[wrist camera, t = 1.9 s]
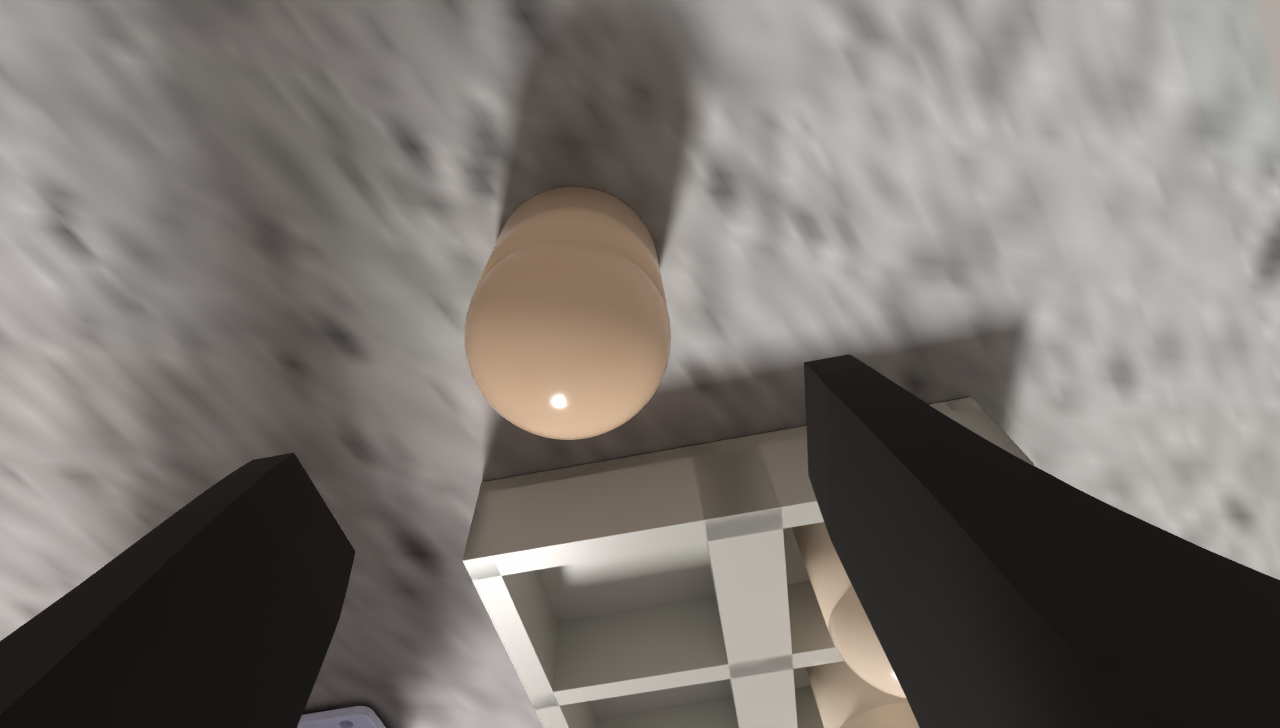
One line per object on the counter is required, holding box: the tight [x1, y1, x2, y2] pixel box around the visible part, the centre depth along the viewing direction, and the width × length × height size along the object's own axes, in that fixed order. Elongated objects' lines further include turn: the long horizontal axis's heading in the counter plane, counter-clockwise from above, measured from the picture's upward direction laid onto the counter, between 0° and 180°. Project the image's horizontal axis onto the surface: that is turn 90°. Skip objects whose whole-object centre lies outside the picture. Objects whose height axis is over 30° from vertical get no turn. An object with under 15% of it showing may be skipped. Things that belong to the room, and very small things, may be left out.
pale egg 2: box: [806, 661, 919, 728], centre depth 20 cm, size 4×4×6 cm
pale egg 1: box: [792, 522, 906, 698], centre depth 17 cm, size 4×4×6 cm
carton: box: [463, 397, 1034, 728], centre depth 20 cm, size 15×14×3 cm
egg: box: [465, 187, 671, 440], centre depth 13 cm, size 4×4×6 cm
